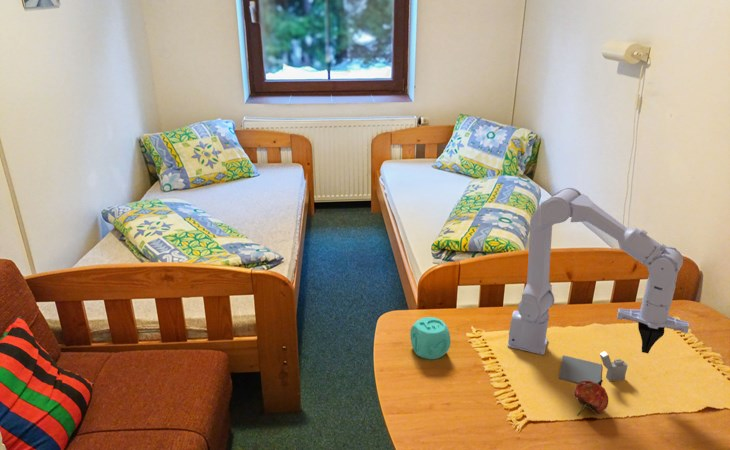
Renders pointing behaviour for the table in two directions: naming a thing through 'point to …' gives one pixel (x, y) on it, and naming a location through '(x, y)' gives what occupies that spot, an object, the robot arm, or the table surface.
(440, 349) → the decorative dice
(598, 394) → the pomegranate
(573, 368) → the mat
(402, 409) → the table surface
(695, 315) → the table surface
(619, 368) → the lighter
